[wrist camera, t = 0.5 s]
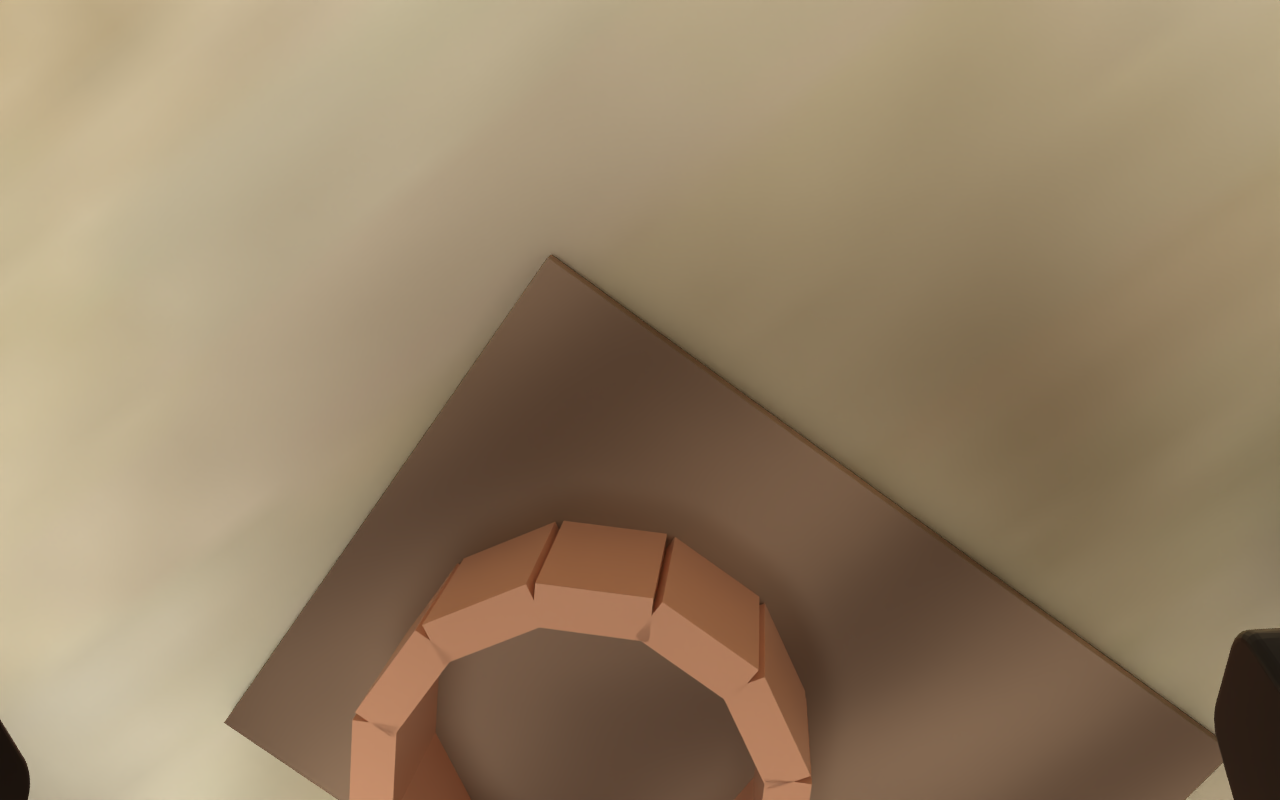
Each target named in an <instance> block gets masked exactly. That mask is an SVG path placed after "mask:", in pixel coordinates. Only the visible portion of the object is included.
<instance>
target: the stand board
mask: <svg viewBox="0 0 1280 800" xmlns="http://www.w3.org/2000/svg"><path fill="white" fill-rule="evenodd" d="M563 521H570V522H578V523H586V524H594V525H602V526H610V527H618V528H626V529H634V530H641V531H649V532H657V533H665V534H667V539H666V548H667V547H668V545H669V544H670V543H671V542H672V540H673V539H674V538H675V537H676V538H677V539H679V540H680V541H682V542H683V543H684V544H686V545H687V546H689V547H690V548H692V549H693V550H694V551H696V552H697V553H699V554H700V555H701V556H703V557H704V558H706V559H707V560H708V561H710V562H711V563H713V564H714V565H715V566H717V567H718V568H720V569H721V570H722V571H724V572H725V573H727V574H728V575H730V576H731V577H732V578H734V579H735V580H737V581H738V582H739V583H741V584H742V585H744V586H745V587H746V588H748V589H749V590H751V591H752V592H753V593H755V594H756V595H758V596H759V605H761V604H764V603H765V605H766V607H767V609H768V611H769V613H770V616H771V618H772V620H773V622H774V624H775V627H776V629H777V631H778V633H779V635H780V637H781V640H782V642H783V644H784V646H785V648H786V651H787V653H788V655H789V657H790V659H791V661H792V664H793V666H794V668H795V670H796V672H797V675H798V677H799V679H800V681H801V683H802V686H803V688H804V690H805V698H806V704H807V719H808V734H809V748H810V763H811V778H812V787H811V794H810V800H1185V799H1186V798H1187V797H1188V796H1189V795H1190V794H1191V793H1192V792H1193V791H1194V790H1195V789H1196V788H1197V787H1198V786H1200V785H1201V784H1202V783H1203V782H1204V781H1205V780H1206V779H1207V778H1208V777H1209V776H1210V775H1211V774H1212V773H1213V772H1214V771H1215V770H1216V769H1217V768H1218V767H1219V766H1220V765H1221V764H1222V763H1223V760H1222V756H1221V753H1220V749H1219V746H1218V742H1217V738H1216V736H1215V735H1214V734H1213V733H1211V732H1210V731H1208V730H1207V729H1206V728H1204V727H1203V726H1201V725H1200V724H1199V723H1197V722H1196V721H1195V720H1193V719H1192V718H1190V717H1189V716H1188V715H1186V714H1185V713H1184V712H1182V711H1181V710H1179V709H1178V708H1177V707H1175V706H1174V705H1172V704H1171V703H1170V702H1168V701H1167V700H1166V699H1164V698H1163V697H1161V696H1160V695H1159V694H1157V693H1156V692H1155V691H1153V690H1152V689H1150V688H1149V687H1148V686H1146V685H1145V684H1143V683H1142V682H1141V681H1139V680H1138V679H1137V678H1135V677H1134V676H1132V675H1131V674H1130V673H1128V672H1127V671H1126V670H1124V669H1123V668H1121V667H1120V666H1119V665H1117V664H1116V663H1115V662H1113V661H1112V660H1110V659H1109V658H1108V657H1106V656H1105V655H1103V654H1102V653H1101V652H1099V651H1098V650H1097V649H1095V648H1094V647H1092V646H1091V645H1090V644H1088V643H1087V642H1086V641H1084V640H1083V639H1081V638H1080V637H1079V636H1077V635H1076V634H1074V633H1073V632H1072V631H1070V630H1069V629H1068V628H1066V627H1065V626H1063V625H1062V624H1061V623H1059V622H1058V621H1057V620H1055V619H1054V618H1052V617H1051V616H1050V615H1048V614H1047V613H1045V612H1044V611H1043V610H1041V609H1040V608H1039V607H1037V606H1036V605H1034V604H1033V603H1032V602H1030V601H1029V600H1028V599H1026V598H1025V597H1023V596H1022V595H1021V594H1019V593H1018V592H1017V591H1015V590H1014V589H1012V588H1011V587H1010V586H1008V585H1007V584H1005V583H1004V582H1003V581H1001V580H1000V579H999V578H997V577H996V576H994V575H993V574H992V573H990V572H989V571H988V570H986V569H985V568H983V567H982V566H981V565H979V564H978V563H976V562H975V561H974V560H972V559H971V558H970V557H968V556H967V555H965V554H964V553H963V552H961V551H960V550H959V549H957V548H956V547H954V546H953V545H952V544H950V543H949V542H947V541H946V540H945V539H943V538H942V537H941V536H939V535H938V534H936V533H935V532H934V531H932V530H931V529H930V528H928V527H927V526H925V525H924V524H923V523H921V522H920V521H918V520H917V519H916V518H914V517H913V516H912V515H910V514H909V513H907V512H906V511H905V510H903V509H902V508H901V507H899V506H898V505H896V504H895V503H894V502H892V501H891V500H890V499H888V498H887V497H885V496H884V495H883V494H881V493H880V492H878V491H877V490H876V489H874V488H873V487H872V486H870V485H869V484H867V483H866V482H865V481H863V480H862V479H861V478H859V477H858V476H856V475H855V474H854V473H852V472H851V471H849V470H848V469H847V468H845V467H844V466H843V465H841V464H840V463H838V462H837V461H836V460H834V459H833V458H832V457H830V456H829V455H827V454H826V453H825V452H823V451H822V450H820V449H819V448H818V447H816V446H815V445H814V444H812V443H811V442H809V441H808V440H807V439H805V438H804V437H803V436H801V435H800V434H798V433H797V432H796V431H794V430H793V429H792V428H790V427H789V426H787V425H786V424H785V423H783V422H782V421H780V420H779V419H778V418H776V417H775V416H774V415H772V414H771V413H769V412H768V411H767V410H765V409H764V408H763V407H761V406H760V405H758V404H757V403H756V402H754V401H753V400H751V399H750V398H749V397H747V396H746V395H745V394H743V393H742V392H740V391H739V390H738V389H736V388H735V387H734V386H732V385H731V384H729V383H728V382H727V381H725V380H724V379H722V378H721V377H720V376H718V375H717V374H716V373H714V372H713V371H711V370H710V369H709V368H707V367H706V366H705V365H703V364H702V363H700V362H699V361H698V360H696V359H695V358H693V357H692V356H691V355H689V354H688V353H687V352H685V351H684V350H682V349H681V348H680V347H678V346H677V345H676V344H674V343H673V342H671V341H670V340H669V339H667V338H666V337H665V336H663V335H662V334H660V333H659V332H658V331H656V330H655V329H653V328H652V327H651V326H649V325H648V324H647V323H645V322H644V321H642V320H641V319H640V318H638V317H637V316H636V315H634V314H633V313H631V312H630V311H629V310H627V309H626V308H624V307H623V306H622V305H620V304H619V303H618V302H616V301H615V300H613V299H612V298H611V297H609V296H608V295H607V294H605V293H604V292H602V291H601V290H600V289H598V288H597V287H595V286H594V285H593V284H591V283H590V282H589V281H587V280H586V279H584V278H583V277H582V276H580V275H579V274H578V273H576V272H575V271H573V270H572V269H571V268H569V267H568V266H567V265H565V264H564V263H562V262H561V261H560V260H558V259H557V258H555V257H554V256H553V255H550V256H549V257H548V258H547V259H546V261H545V262H544V263H543V265H542V266H541V268H540V269H539V271H538V272H537V273H536V275H535V276H534V278H533V279H532V281H531V282H530V284H529V285H528V286H527V288H526V289H525V291H524V292H523V294H522V295H521V297H520V298H519V299H518V301H517V302H516V304H515V305H514V307H513V308H512V309H511V311H510V312H509V314H508V315H507V317H506V318H505V320H504V321H503V322H502V324H501V325H500V327H499V328H498V330H497V331H496V332H495V334H494V335H493V337H492V338H491V340H490V341H489V343H488V344H487V345H486V347H485V348H484V350H483V351H482V353H481V354H480V356H479V357H478V358H477V360H476V361H475V363H474V364H473V366H472V367H471V368H470V370H469V371H468V373H467V374H466V376H465V377H464V379H463V380H462V381H461V383H460V384H459V386H458V387H457V389H456V390H455V391H454V393H453V394H452V396H451V397H450V399H449V400H448V402H447V403H446V404H445V406H444V407H443V409H442V410H441V412H440V413H439V415H438V416H437V417H436V419H435V420H434V422H433V423H432V425H431V426H430V427H429V429H428V430H427V432H426V433H425V435H424V436H423V438H422V439H421V440H420V442H419V443H418V445H417V446H416V448H415V449H414V450H413V452H412V453H411V455H410V456H409V458H408V459H407V461H406V462H405V463H404V465H403V466H402V468H401V469H400V471H399V472H398V474H397V475H396V476H395V478H394V479H393V481H392V482H391V484H390V485H389V486H388V488H387V489H386V491H385V492H384V494H383V495H382V497H381V498H380V499H379V501H378V502H377V504H376V505H375V507H374V508H373V509H372V511H371V512H370V514H369V515H368V517H367V518H366V520H365V521H364V522H363V524H362V525H361V527H360V528H359V530H358V531H357V532H356V534H355V535H354V537H353V538H352V540H351V541H350V543H349V544H348V545H347V547H346V548H345V550H344V551H343V553H342V554H341V556H340V557H339V558H338V560H337V561H336V563H335V564H334V566H333V567H332V568H331V570H330V571H329V573H328V574H327V576H326V577H325V579H324V580H323V581H322V583H321V584H320V586H319V587H318V589H317V590H316V591H315V593H314V594H313V596H312V597H311V599H310V600H309V602H308V603H307V604H306V606H305V607H304V609H303V610H302V612H301V613H300V615H299V616H298V617H297V619H296V620H295V622H294V623H293V625H292V626H291V627H290V629H289V630H288V632H287V633H286V635H285V636H284V638H283V639H282V640H281V642H280V643H279V645H278V646H277V648H276V649H275V650H274V652H273V653H272V655H271V656H270V658H269V659H268V661H267V662H266V663H265V665H264V666H263V668H262V669H261V671H260V672H259V674H258V675H257V676H256V678H255V679H254V681H253V682H252V684H251V685H250V686H249V688H248V689H247V691H246V692H245V694H244V695H243V697H242V698H241V699H240V701H239V702H238V704H237V705H236V707H235V708H234V709H233V711H232V712H231V714H230V715H229V717H228V718H227V720H226V721H225V722H224V723H225V724H227V725H228V726H230V727H231V728H233V729H234V730H236V731H237V732H239V733H240V734H242V735H243V736H245V737H246V738H248V739H249V740H251V741H252V742H253V743H255V744H256V745H258V746H259V747H261V748H262V749H264V750H265V751H267V752H268V753H270V754H271V755H273V756H274V757H276V758H277V759H279V760H280V761H282V762H283V763H285V764H286V765H288V766H289V767H291V768H292V769H293V770H295V771H296V772H298V773H299V774H301V775H302V776H304V777H305V778H307V779H308V780H310V781H311V782H313V783H314V784H316V785H317V786H319V787H320V788H322V789H323V790H325V791H326V792H328V793H329V794H331V795H332V796H333V797H335V798H336V799H338V800H349V795H350V768H351V742H352V720H353V718H354V717H355V715H356V714H357V713H355V712H356V710H357V708H358V707H359V705H360V704H361V702H362V701H363V699H364V698H365V696H366V694H367V693H368V691H369V690H370V688H371V687H372V685H373V684H374V682H375V681H376V679H377V677H378V676H379V674H380V673H381V671H382V670H383V668H384V667H385V665H386V663H387V662H388V660H389V659H390V657H391V656H392V654H393V653H394V651H395V650H396V648H397V646H398V645H399V643H400V642H401V640H402V639H403V637H404V636H405V634H406V633H407V632H408V630H409V629H410V628H411V626H412V625H413V623H414V622H415V621H416V619H417V618H418V617H419V615H420V614H421V613H422V611H423V610H424V608H425V607H426V606H427V604H428V603H429V602H430V600H431V599H432V597H433V596H434V595H435V593H436V592H437V591H438V589H439V588H440V587H441V585H442V584H443V582H444V581H445V580H446V578H447V577H448V576H449V574H450V573H451V571H452V570H453V569H454V567H455V566H456V565H457V563H458V564H459V565H460V564H461V562H462V560H463V559H464V558H466V557H469V556H471V555H474V554H476V553H479V552H481V551H483V550H486V549H488V548H491V547H493V546H496V545H498V544H501V543H503V542H506V541H508V540H511V539H513V538H516V537H518V536H521V535H523V534H526V533H528V532H531V531H533V530H536V529H538V528H541V527H543V526H546V525H548V524H551V523H553V522H556V524H557V526H558V528H559V530H560V527H561V525H562V523H563ZM435 733H436V734H437V736H438V738H439V740H440V742H441V744H442V746H443V748H444V749H445V751H446V753H447V755H448V757H449V759H450V761H451V763H452V765H453V766H454V768H455V770H456V772H457V774H458V776H459V778H460V780H461V781H462V783H463V785H464V787H465V789H466V791H467V793H468V795H469V797H470V798H471V800H734V799H735V798H736V797H737V796H738V795H739V793H740V792H741V791H742V790H743V789H744V788H745V787H746V785H747V784H748V783H749V782H750V781H751V780H752V779H753V777H754V772H755V763H754V761H753V759H752V757H751V755H750V753H749V751H748V749H747V746H746V744H745V742H744V740H743V738H742V736H741V734H740V732H739V730H738V727H737V725H736V723H735V721H734V719H733V717H732V715H731V713H730V711H729V708H728V706H727V704H726V702H725V700H724V699H723V698H722V697H720V696H719V695H717V694H716V693H714V692H713V691H712V690H710V689H709V688H707V687H706V686H704V685H703V684H702V683H700V682H699V681H697V680H696V679H694V678H693V677H692V676H690V675H689V674H687V673H686V672H684V671H683V670H682V669H680V668H679V667H677V666H676V665H674V664H673V663H672V662H670V661H669V660H667V659H666V658H665V657H663V656H662V655H660V654H659V653H657V652H656V651H655V650H653V649H652V648H650V647H649V646H647V645H646V644H645V643H643V642H642V641H637V640H630V639H622V638H614V637H607V636H599V635H592V634H584V633H577V632H569V631H562V630H554V629H547V628H537V629H534V630H531V631H529V632H526V633H524V634H521V635H518V636H516V637H513V638H511V639H508V640H505V641H503V642H500V643H498V644H495V645H492V646H490V647H487V648H485V649H482V650H479V651H477V652H474V653H472V654H469V655H466V656H464V657H461V658H459V659H456V660H453V661H451V662H449V663H448V665H447V666H446V667H445V669H444V670H443V671H442V673H441V674H440V675H439V680H438V698H437V715H436V732H435Z"/></svg>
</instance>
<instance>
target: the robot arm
mask: <svg viewBox="0 0 1280 800" xmlns="http://www.w3.org/2000/svg"><path fill="white" fill-rule="evenodd" d="M1214 722H1215V732H1216V738H1217V742H1218V746H1219V749H1220V753H1221V756H1222V760H1223V763H1224V767H1225V770H1226V774H1227V777H1228V781H1229V784H1230V788H1231V791H1232V795H1233V798H1234V800H1280V628H1272V629H1253V630H1246V631H1242V632H1241V633H1240V634H1239V635H1238V636H1237V637H1236V638H1235V639H1234V642H1233V644H1232V647H1231V650H1230V654H1229V658H1228V661H1227V665H1226V669H1225V672H1224V676H1223V680H1222V683H1221V687H1220V691H1219V694H1218V698H1217V702H1216V706H1215V715H1214ZM29 788H30V777H29V770H28V767H27V763H26V761H25V759H24V757H23V756H22V754H21V753H20V751H19V749H18V748H17V746H16V744H15V743H14V741H13V739H12V738H11V736H10V735H9V733H8V731H7V730H6V728H5V726H4V725H3V723H2V722H1V720H0V800H28V796H29Z"/></svg>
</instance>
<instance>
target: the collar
mask: <svg viewBox="0 0 1280 800" xmlns="http://www.w3.org/2000/svg"><path fill="white" fill-rule="evenodd" d="M666 539H667V534H665V533H657V532H649V531H641V530H634V529H626V528H618V527H610V526H602V525H594V524H586V523H578V522H570V521H563V523H562V525H561V527H560V530H559V528H558V526H557V524H556V522H553V523H551V524H548V525H546V526H543V527H541V528H538V529H536V530H533V531H531V532H528V533H526V534H523V535H521V536H518V537H516V538H513V539H511V540H508V541H506V542H503V543H501V544H498V545H496V546H493V547H491V548H488V549H486V550H483V551H481V552H479V553H476V554H474V555H471V556H469V557H466V558H464V559H463V560H462V562H461V564H460V565H459V564H458V563H457V565H456V566H455V567H454V569H453V570H452V571H451V573H450V574H449V576H448V577H447V578H446V580H445V581H444V582H443V584H442V585H441V587H440V588H439V589H438V591H437V592H436V593H435V595H434V596H433V597H432V599H431V600H430V602H429V603H428V604H427V606H426V607H425V608H424V610H423V611H422V613H421V614H420V615H419V617H418V618H417V619H416V621H415V622H414V623H413V625H412V626H411V628H410V629H409V630H408V632H407V633H406V634H405V636H404V637H403V639H402V640H401V642H400V643H399V645H398V646H397V648H396V650H395V651H394V653H393V654H392V656H391V657H390V659H389V660H388V662H387V663H386V665H385V667H384V668H383V670H382V671H381V673H380V674H379V676H378V677H377V679H376V681H375V682H374V684H373V685H372V687H371V688H370V690H369V691H368V693H367V694H366V696H365V698H364V699H363V701H362V702H361V704H360V705H359V707H358V708H357V710H356V712H355V713H357V714H356V715H355V717H354V718H353V720H352V742H351V768H350V795H349V800H471V798H470V797H469V795H468V793H467V791H466V789H465V787H464V785H463V783H462V781H461V780H460V778H459V776H458V774H457V772H456V770H455V768H454V766H453V765H452V763H451V761H450V759H449V757H448V755H447V753H446V751H445V749H444V748H443V746H442V744H441V742H440V740H439V738H438V736H437V734H436V733H435V732H436V715H437V698H438V680H439V675H440V674H441V673H442V671H443V670H444V669H445V667H446V666H447V665H448V663H449V662H451V661H453V660H456V659H459V658H461V657H464V656H466V655H469V654H472V653H474V652H477V651H479V650H482V649H485V648H487V647H490V646H492V645H495V644H498V643H500V642H503V641H505V640H508V639H511V638H513V637H516V636H518V635H521V634H524V633H526V632H529V631H531V630H534V629H537V628H547V629H554V630H562V631H569V632H577V633H584V634H592V635H599V636H607V637H614V638H622V639H630V640H637V641H642V642H643V643H645V644H646V645H647V646H649V647H650V648H652V649H653V650H655V651H656V652H657V653H659V654H660V655H662V656H663V657H665V658H666V659H667V660H669V661H670V662H672V663H673V664H674V665H676V666H677V667H679V668H680V669H682V670H683V671H684V672H686V673H687V674H689V675H690V676H692V677H693V678H694V679H696V680H697V681H699V682H700V683H702V684H703V685H704V686H706V687H707V688H709V689H710V690H712V691H713V692H714V693H716V694H717V695H719V696H720V697H722V698H723V699H724V700H725V702H726V704H727V706H728V708H729V711H730V713H731V715H732V717H733V719H734V721H735V723H736V725H737V727H738V730H739V732H740V734H741V736H742V738H743V740H744V742H745V744H746V746H747V749H748V751H749V753H750V755H751V757H752V759H753V761H754V763H755V772H754V777H753V779H752V780H751V781H750V782H749V783H748V784H747V785H746V787H745V788H744V789H743V790H742V791H741V792H740V793H739V795H738V796H737V797H736V798H735V799H734V800H810V794H811V787H812V778H811V763H810V748H809V734H808V719H807V704H806V698H805V690H804V688H803V686H802V683H801V681H800V679H799V677H798V675H797V672H796V670H795V668H794V666H793V664H792V661H791V659H790V657H789V655H788V653H787V651H786V648H785V646H784V644H783V642H782V640H781V637H780V635H779V633H778V631H777V629H776V627H775V624H774V622H773V620H772V618H771V616H770V613H769V611H768V609H767V607H766V605H765V603H764V604H761V605H759V596H758V595H756V594H755V593H753V592H752V591H751V590H749V589H748V588H746V587H745V586H744V585H742V584H741V583H739V582H738V581H737V580H735V579H734V578H732V577H731V576H730V575H728V574H727V573H725V572H724V571H722V570H721V569H720V568H718V567H717V566H715V565H714V564H713V563H711V562H710V561H708V560H707V559H706V558H704V557H703V556H701V555H700V554H699V553H697V552H696V551H694V550H693V549H692V548H690V547H689V546H687V545H686V544H684V543H683V542H682V541H680V540H679V539H677V538H676V537H675V538H674V539H673V540H672V542H671V543H670V544H669V545H668V547H667V548H666Z"/></svg>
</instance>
